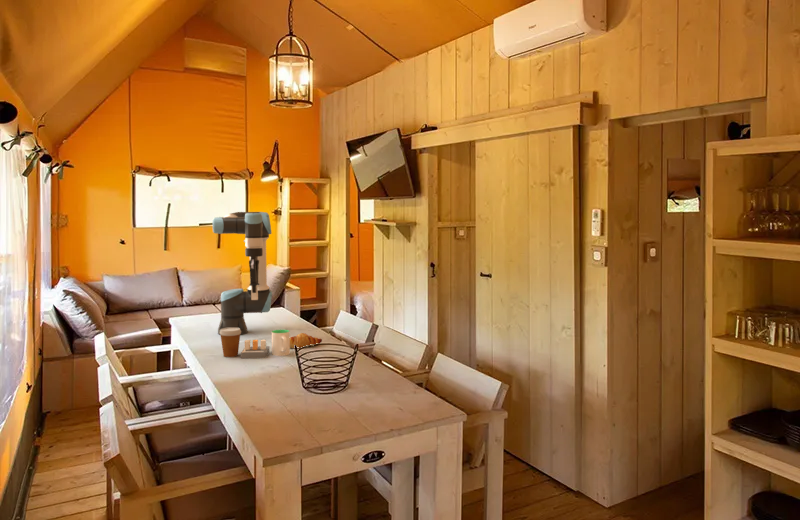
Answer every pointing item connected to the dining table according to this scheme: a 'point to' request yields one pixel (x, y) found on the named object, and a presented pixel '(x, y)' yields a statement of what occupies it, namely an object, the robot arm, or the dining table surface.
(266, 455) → the dining table surface
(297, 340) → the croissant
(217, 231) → the robot arm
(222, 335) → the disposable coffee cup
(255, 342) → the paddle
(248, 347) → the paddle
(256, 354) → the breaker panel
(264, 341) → the paddle
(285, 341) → the mug
